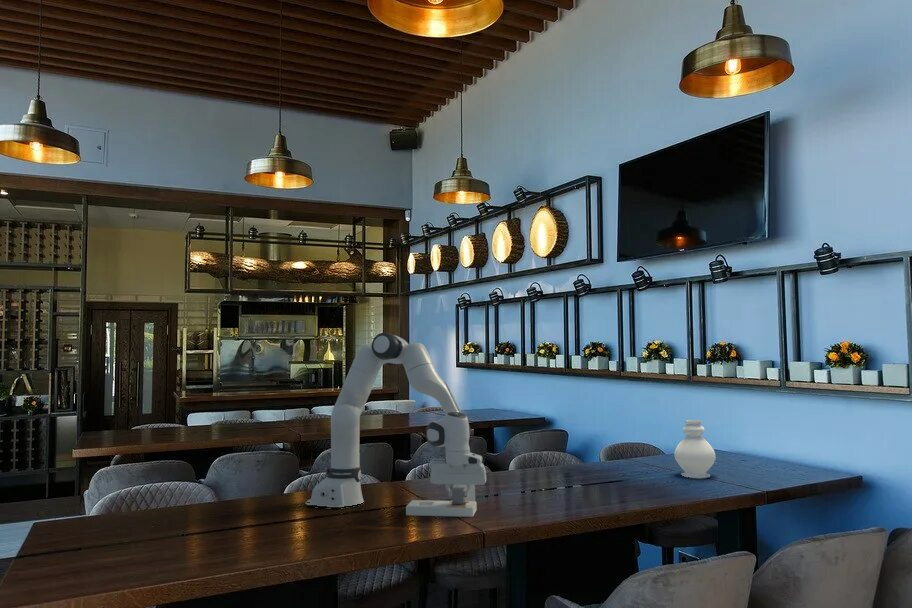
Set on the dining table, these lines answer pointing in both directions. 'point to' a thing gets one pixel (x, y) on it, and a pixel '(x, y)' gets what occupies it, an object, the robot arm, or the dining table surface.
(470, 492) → the milk carton
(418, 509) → the socket rail
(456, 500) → the dark gray block
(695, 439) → the decorative vase
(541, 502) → the dining table surface
